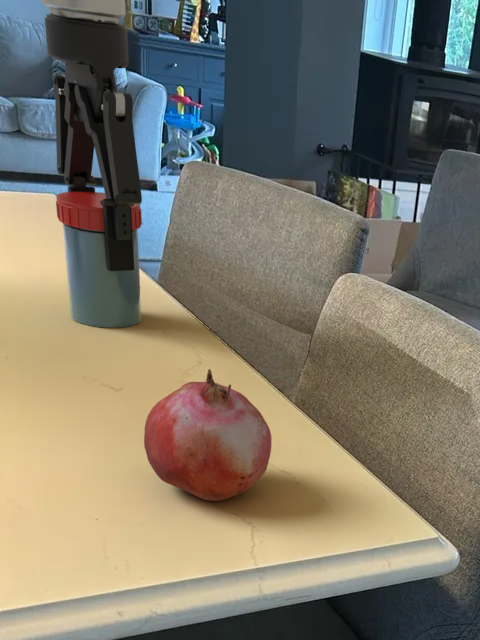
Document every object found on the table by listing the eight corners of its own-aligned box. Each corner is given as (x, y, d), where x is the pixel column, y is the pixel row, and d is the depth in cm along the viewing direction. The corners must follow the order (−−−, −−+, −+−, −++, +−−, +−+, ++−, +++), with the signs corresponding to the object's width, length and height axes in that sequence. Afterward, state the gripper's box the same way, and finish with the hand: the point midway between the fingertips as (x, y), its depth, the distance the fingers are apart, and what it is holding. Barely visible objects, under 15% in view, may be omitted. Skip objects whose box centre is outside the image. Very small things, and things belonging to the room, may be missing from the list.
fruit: (158, 458, 73) (153, 338, 68) (274, 469, 74) (278, 352, 69) (132, 508, 65) (125, 378, 60) (263, 520, 67) (266, 393, 61)
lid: (76, 232, 91) (74, 208, 89) (45, 213, 96) (43, 190, 94) (155, 231, 96) (154, 208, 95) (121, 213, 101) (120, 192, 100)
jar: (61, 322, 98) (50, 206, 91) (82, 304, 104) (73, 194, 98) (131, 331, 98) (126, 217, 92) (148, 313, 105) (144, 205, 98)
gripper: (173, 33, 82) (179, 283, 94) (80, 12, 94) (96, 235, 106) (93, 22, 77) (110, 287, 89) (6, 1, 90) (32, 236, 102)
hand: (103, 258), depth 98 cm, fingers closed on lid, 8 cm apart
